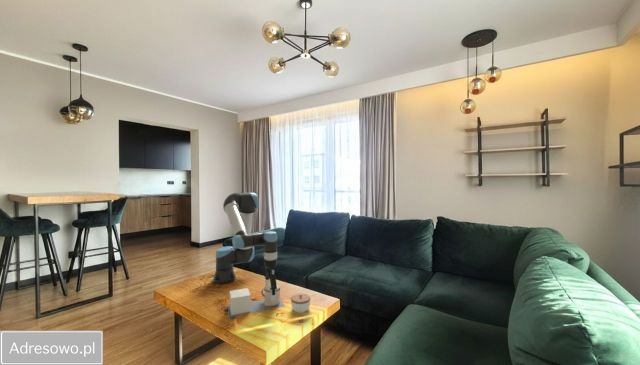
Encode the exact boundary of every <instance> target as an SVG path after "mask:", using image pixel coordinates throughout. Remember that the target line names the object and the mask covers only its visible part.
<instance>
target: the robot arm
mask: <svg viewBox="0 0 640 365" xmlns="http://www.w3.org/2000/svg"><path fill="white" fill-rule="evenodd" d="M222 207H223V211H224V213H225V214H226V216H227V218H228V221H229V224H230V226H231V227H230V228H231V230H232V232H233V236H232V238H231V239H232V240H231V242H232V246H231V245H227V246H223V247H220V248H218V249H217V250H216V252H215V271H214V275H213V277H212V278H213V279H212V281H213V283H214V284H216V285H225V284H229V283H232V282H234V281H235V280H236V274H235V270H234V265H237V264H243V263H246V264H247V263H249V262H252V261H253V259H254V258H255V247H259V246H263V253H262V256H263V266H264V267H265V271H264V278H265V286H267V285H269V284H271V288H270V290H271V301H273V300H276V289H277V285H278V284H277V276H276V270H275V268H274V267H277V265H278V233H277V231H272V230H269V231H262V230H261V231H258V232H256V233H255V232H254V233H252V229H253V220H254V219H253V217H254V214H255V212H256V210H257V209H258V208H259V207H260V200H259V197H258V195H257V193H255V192H234V193H231V194H229V195H228V196H227V197H226V198H225V199H224V202H223V206H222ZM276 284H277V285H276Z"/></svg>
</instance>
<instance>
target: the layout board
mask: <svg viewBox="0 0 640 365" xmlns="http://www.w3.org/2000/svg"><path fill="white" fill-rule="evenodd" d="M284 307H286V305H285V304H284V302H283V300H282V299H281V298H280V302H279V304H278V305H275V306H267V305H266V304H265V298H263V299H260V300H253V301H251V312H246V313H241V314H236V315H231V312H230V305H228V306H227V312H228V319H229V320H233V319H236V318H237V316H238V317H239V316H243V315H248V314H252V313H258V312H263V311H269V310H274V309H278V308H284Z"/></svg>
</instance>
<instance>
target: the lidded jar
mask: <svg viewBox="0 0 640 365" xmlns="http://www.w3.org/2000/svg"><path fill="white" fill-rule="evenodd" d="M290 304H291V309H292V310H293V311H294V312H295V313H299V314H300V313H301V314H302V313H306V312H307V311H308V310H309V309H310V305H311V296H310V295H309V294H307V293H296V294H293V295H291V297H290Z"/></svg>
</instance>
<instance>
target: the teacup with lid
mask: <svg viewBox="0 0 640 365" xmlns="http://www.w3.org/2000/svg"><path fill="white" fill-rule="evenodd" d="M276 285H277V289H276V300H273V301H271V290H270V288H271V284H269V285H267V286H266V285H265V287H264V288H262V289H261V290H260V294H261V297H263V298H264V299H265V304H266V305H267V306H275V305H278V304H279V302H280V299H281V297H280V295H281V287H280V286H281V285H279V284H277V283H276Z"/></svg>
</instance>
